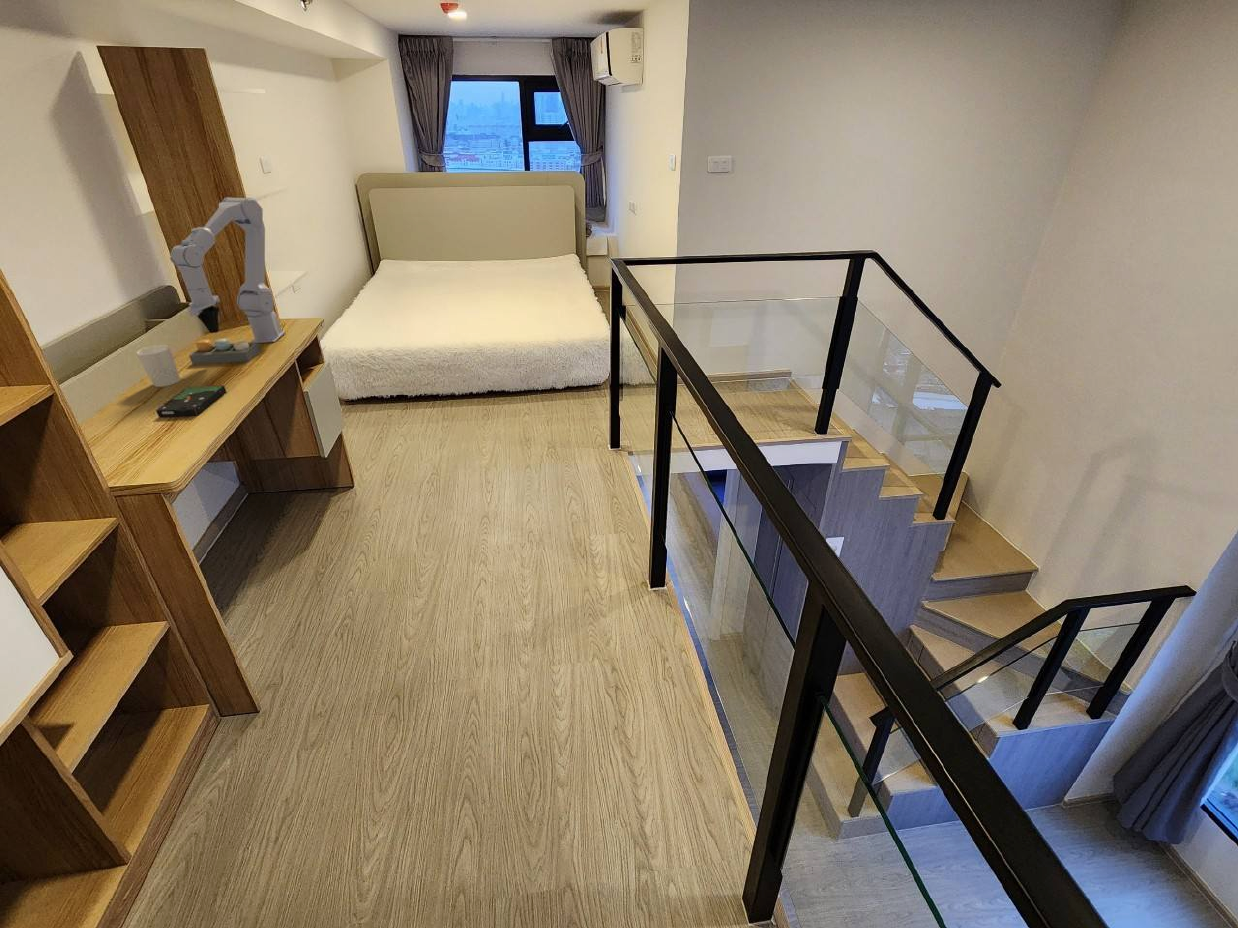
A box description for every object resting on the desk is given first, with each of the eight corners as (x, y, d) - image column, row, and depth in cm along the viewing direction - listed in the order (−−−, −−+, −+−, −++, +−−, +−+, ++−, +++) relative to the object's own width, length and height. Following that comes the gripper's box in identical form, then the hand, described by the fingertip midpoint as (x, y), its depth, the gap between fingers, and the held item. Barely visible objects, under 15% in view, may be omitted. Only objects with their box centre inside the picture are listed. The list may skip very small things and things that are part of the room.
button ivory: (239, 349, 200) (237, 341, 198) (252, 348, 200) (250, 340, 198) (234, 354, 196) (231, 346, 195) (247, 353, 196) (244, 345, 195)
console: (206, 354, 202) (203, 345, 201) (261, 351, 203) (258, 342, 201) (192, 364, 194) (188, 355, 193) (249, 361, 195) (245, 352, 194)
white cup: (189, 377, 186) (175, 344, 181) (170, 388, 179) (155, 354, 174) (164, 376, 187) (150, 344, 181) (144, 387, 180) (129, 354, 175)
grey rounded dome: (220, 346, 199) (217, 338, 197) (233, 346, 199) (230, 338, 197) (214, 351, 195) (211, 343, 194) (227, 350, 195) (224, 342, 194)
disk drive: (199, 418, 163) (228, 393, 176) (195, 408, 161) (224, 384, 174) (159, 420, 163) (190, 395, 175) (154, 410, 161) (186, 385, 174)
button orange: (202, 347, 198) (199, 339, 197) (215, 347, 199) (212, 339, 197) (196, 352, 195) (193, 344, 194) (209, 351, 195) (206, 343, 194)
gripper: (195, 282, 193) (211, 325, 200) (171, 295, 181) (189, 340, 188) (219, 280, 194) (234, 323, 200) (197, 293, 181) (214, 339, 188)
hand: (214, 332), depth 194 cm, fingers closed
